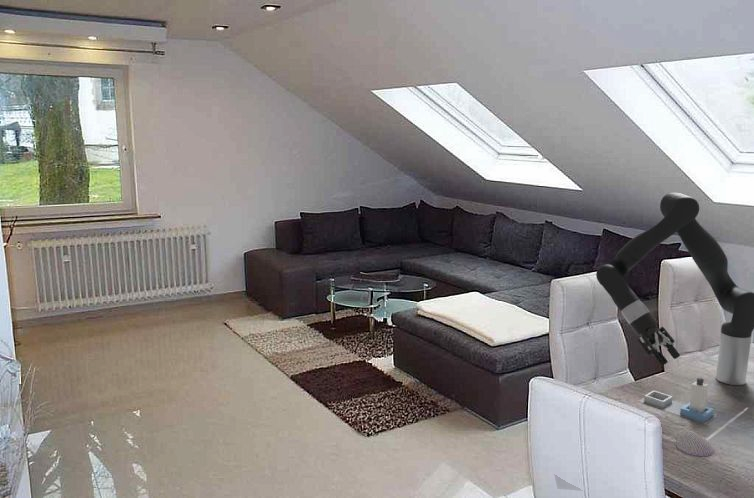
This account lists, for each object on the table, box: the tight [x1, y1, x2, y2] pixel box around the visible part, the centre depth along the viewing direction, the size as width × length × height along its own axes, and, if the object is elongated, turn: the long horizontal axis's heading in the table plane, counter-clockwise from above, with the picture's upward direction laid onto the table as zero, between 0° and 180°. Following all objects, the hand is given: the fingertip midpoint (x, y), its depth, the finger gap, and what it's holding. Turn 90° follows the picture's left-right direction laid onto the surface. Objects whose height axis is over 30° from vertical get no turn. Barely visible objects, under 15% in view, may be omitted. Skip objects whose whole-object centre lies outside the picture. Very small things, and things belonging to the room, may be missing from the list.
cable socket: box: [637, 390, 719, 425], centre depth 194 cm, size 21×9×4 cm, turn 41°
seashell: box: [674, 429, 715, 457], centre depth 172 cm, size 10×6×10 cm
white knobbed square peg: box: [689, 377, 709, 414], centre depth 189 cm, size 3×3×12 cm
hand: (671, 360), depth 194 cm, fingers open, 8 cm apart
